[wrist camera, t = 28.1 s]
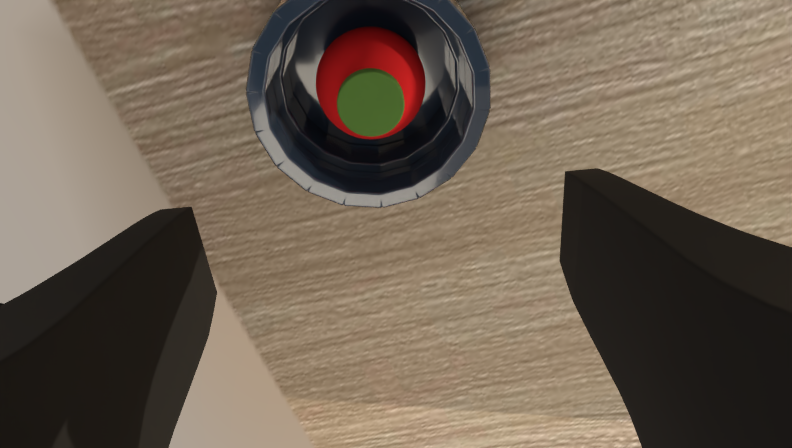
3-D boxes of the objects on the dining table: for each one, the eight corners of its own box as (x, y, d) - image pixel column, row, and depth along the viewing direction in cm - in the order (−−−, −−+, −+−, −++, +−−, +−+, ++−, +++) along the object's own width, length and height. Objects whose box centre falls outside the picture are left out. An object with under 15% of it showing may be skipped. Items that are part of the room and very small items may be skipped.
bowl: (287, 169, 21) (272, 218, 18) (246, -36, 18) (220, -18, 15) (474, 151, 21) (491, 198, 18) (469, -58, 18) (489, -44, 14)
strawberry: (334, 126, 20) (328, 171, 17) (307, 29, 18) (294, 59, 15) (429, 105, 19) (440, 147, 16) (410, 5, 18) (418, 31, 15)
